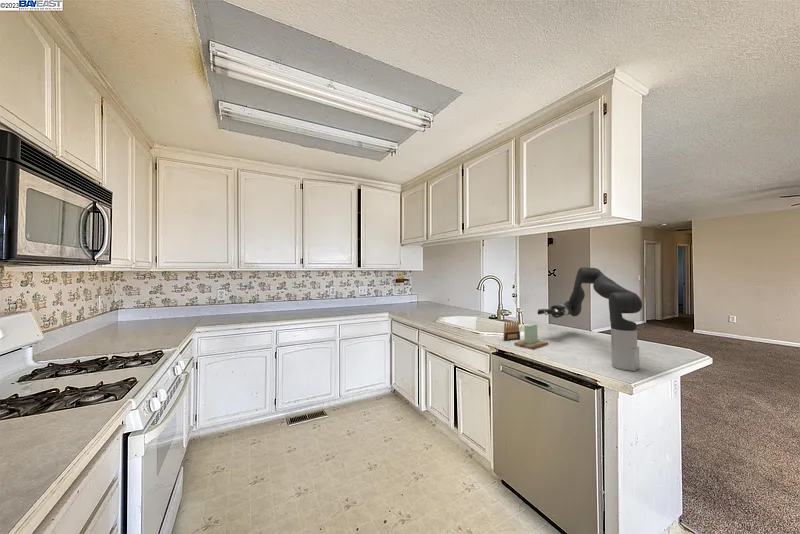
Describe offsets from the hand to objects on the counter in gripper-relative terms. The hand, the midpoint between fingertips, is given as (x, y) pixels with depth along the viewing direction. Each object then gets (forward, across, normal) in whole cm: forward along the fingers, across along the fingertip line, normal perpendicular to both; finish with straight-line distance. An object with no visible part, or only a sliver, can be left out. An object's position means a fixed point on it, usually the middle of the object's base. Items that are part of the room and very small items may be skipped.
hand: (545, 313), depth 174 cm
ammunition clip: (+7, -18, +18) cm, 26 cm away
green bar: (+10, -4, +16) cm, 19 cm away
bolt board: (+10, -4, +18) cm, 20 cm away
